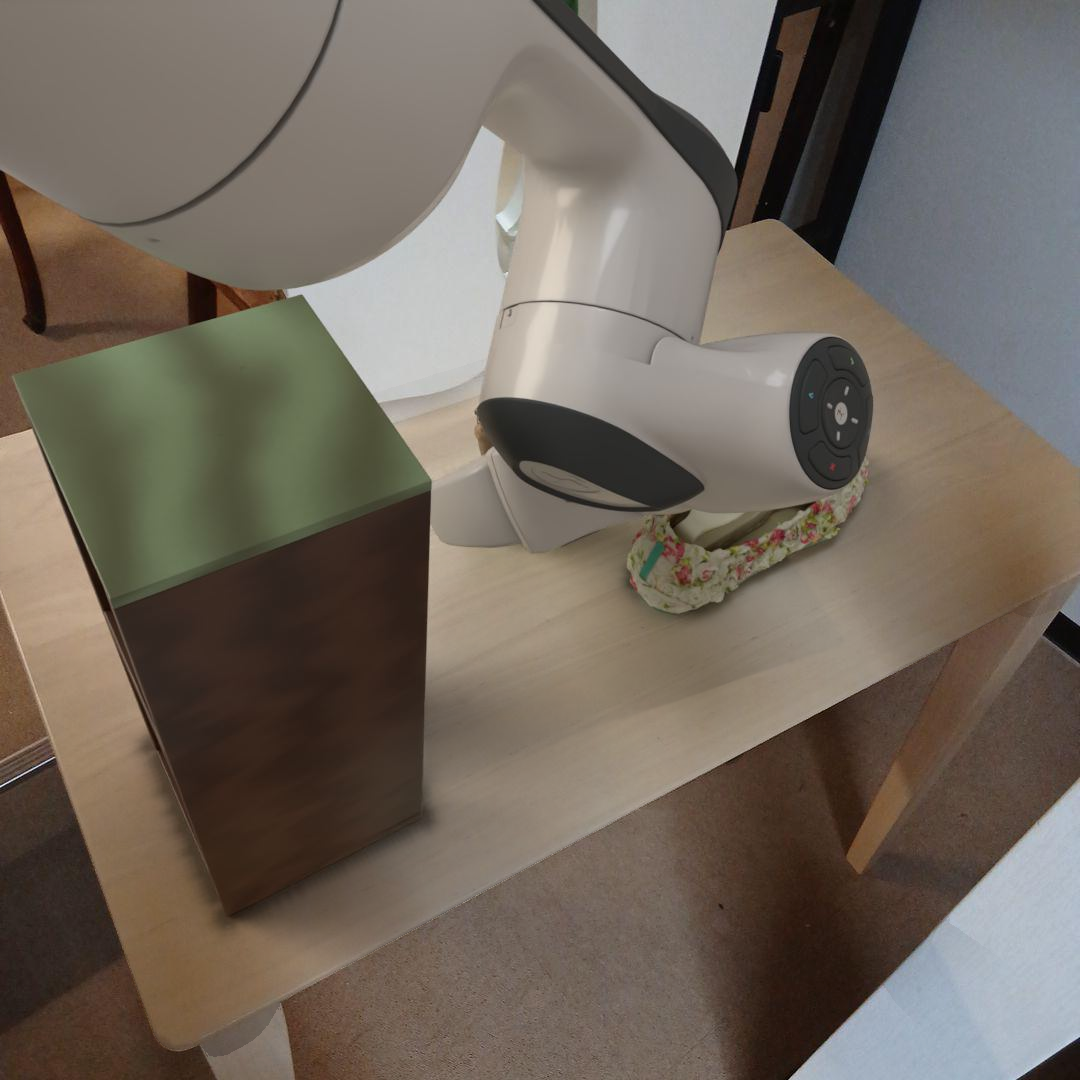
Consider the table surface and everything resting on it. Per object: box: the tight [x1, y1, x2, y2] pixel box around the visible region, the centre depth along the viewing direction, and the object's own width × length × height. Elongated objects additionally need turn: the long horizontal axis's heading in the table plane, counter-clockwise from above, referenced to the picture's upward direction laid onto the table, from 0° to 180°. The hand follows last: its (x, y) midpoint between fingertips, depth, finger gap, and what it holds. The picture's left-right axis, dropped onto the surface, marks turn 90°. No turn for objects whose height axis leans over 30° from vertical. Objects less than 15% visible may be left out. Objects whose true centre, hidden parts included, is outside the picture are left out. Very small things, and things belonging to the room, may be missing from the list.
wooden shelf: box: [11, 294, 433, 917], centre depth 52 cm, size 12×12×30 cm
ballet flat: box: [625, 454, 870, 615], centre depth 77 cm, size 9×25×8 cm, turn 134°
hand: (511, 454), depth 73 cm, fingers closed on snail figurine, 5 cm apart
